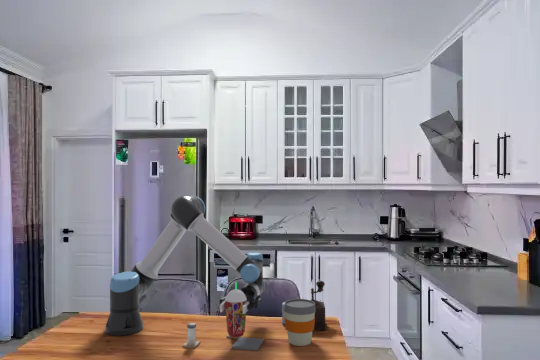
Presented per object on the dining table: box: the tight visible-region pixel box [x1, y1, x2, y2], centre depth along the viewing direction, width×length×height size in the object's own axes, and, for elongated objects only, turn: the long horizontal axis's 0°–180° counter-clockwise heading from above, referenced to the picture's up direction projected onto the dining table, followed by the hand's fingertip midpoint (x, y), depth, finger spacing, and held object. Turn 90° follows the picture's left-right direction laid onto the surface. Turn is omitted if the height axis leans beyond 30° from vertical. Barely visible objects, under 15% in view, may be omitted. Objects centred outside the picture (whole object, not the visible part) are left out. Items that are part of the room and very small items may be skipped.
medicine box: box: [281, 301, 286, 325], centre depth 182 cm, size 8×4×9 cm, turn 84°
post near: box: [182, 322, 201, 349], centre depth 156 cm, size 5×5×8 cm
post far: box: [226, 333, 239, 340], centre depth 166 cm, size 5×5×8 cm
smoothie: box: [225, 281, 247, 337], centre depth 155 cm, size 8×8×20 cm
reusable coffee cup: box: [284, 298, 316, 347], centre depth 160 cm, size 13×13×15 cm
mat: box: [231, 336, 265, 351], centre depth 157 cm, size 10×10×1 cm
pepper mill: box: [310, 280, 327, 331], centre depth 180 cm, size 16×11×18 cm
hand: (232, 309), depth 151 cm, fingers closed on smoothie, 8 cm apart
